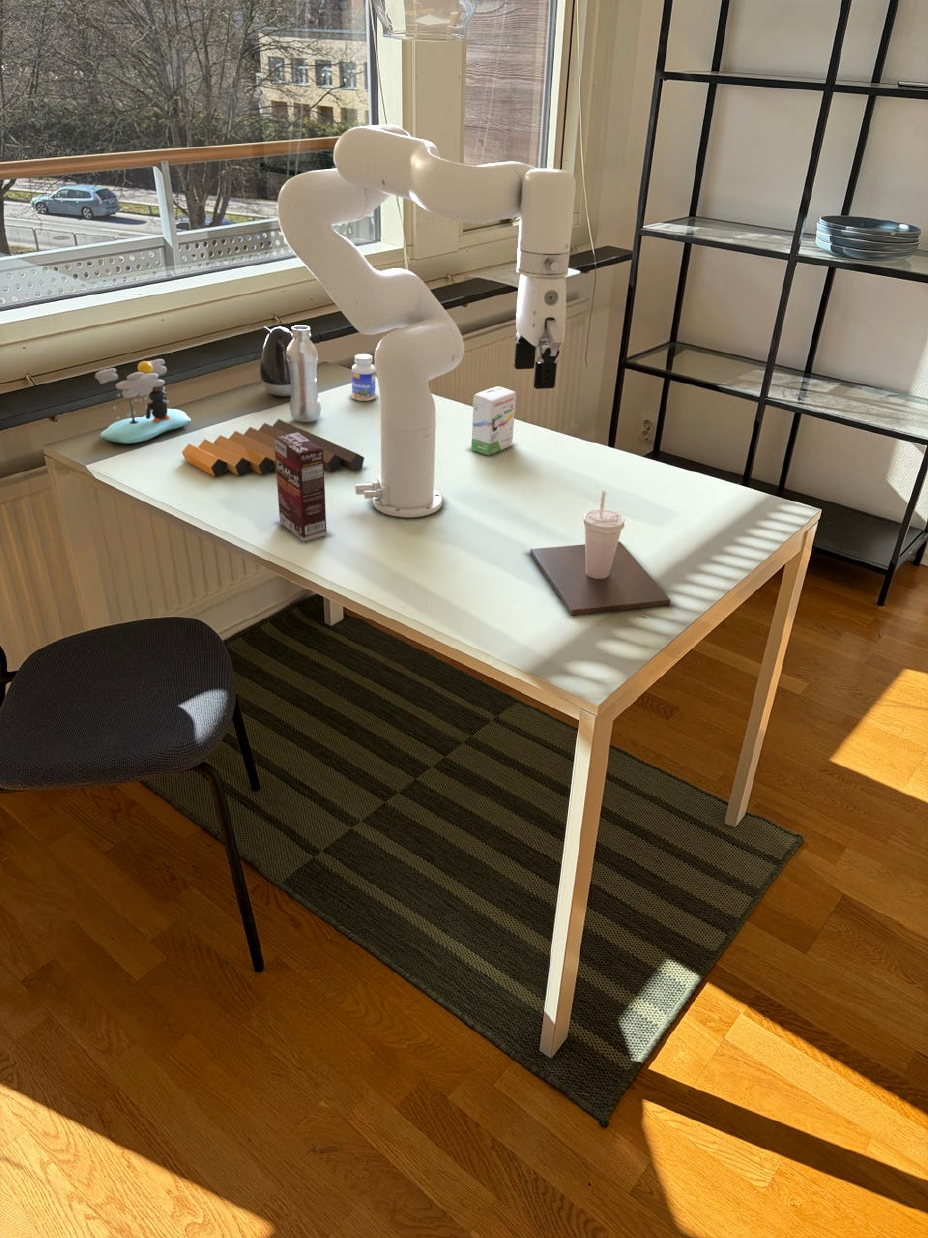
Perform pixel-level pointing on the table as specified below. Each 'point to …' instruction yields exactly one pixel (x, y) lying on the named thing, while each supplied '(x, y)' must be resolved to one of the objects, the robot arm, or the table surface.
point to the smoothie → (601, 539)
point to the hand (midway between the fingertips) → (533, 377)
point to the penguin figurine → (157, 412)
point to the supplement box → (300, 486)
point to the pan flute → (262, 451)
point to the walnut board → (598, 581)
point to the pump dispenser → (276, 362)
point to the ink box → (493, 420)
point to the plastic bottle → (303, 376)
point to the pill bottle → (363, 378)
